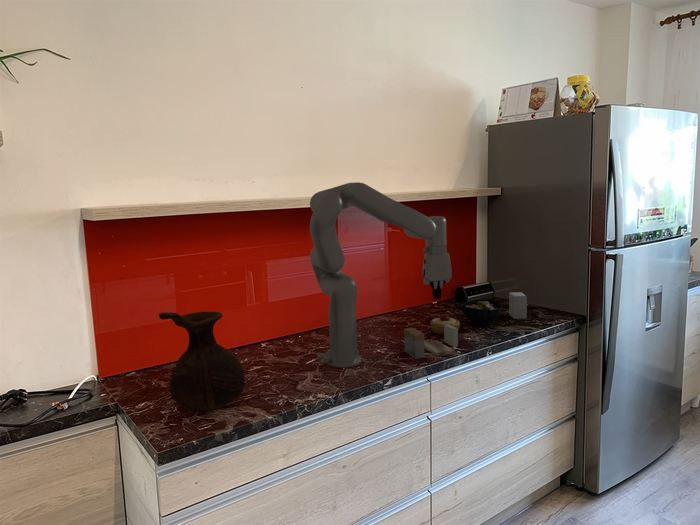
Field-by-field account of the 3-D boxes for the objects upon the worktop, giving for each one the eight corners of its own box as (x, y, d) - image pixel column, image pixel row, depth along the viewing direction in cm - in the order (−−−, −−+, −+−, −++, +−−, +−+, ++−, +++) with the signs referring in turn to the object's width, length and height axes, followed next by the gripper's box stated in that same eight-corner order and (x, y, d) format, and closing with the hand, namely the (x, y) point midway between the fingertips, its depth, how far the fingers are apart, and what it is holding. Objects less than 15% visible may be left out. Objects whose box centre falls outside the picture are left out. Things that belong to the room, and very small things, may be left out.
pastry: (424, 333, 220) (423, 312, 219) (444, 327, 227) (443, 307, 226) (446, 338, 210) (445, 316, 209) (466, 332, 217) (465, 311, 216)
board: (436, 355, 190) (436, 352, 190) (420, 345, 202) (420, 342, 202) (454, 353, 192) (454, 350, 192) (436, 343, 204) (436, 340, 204)
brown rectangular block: (415, 359, 187) (414, 335, 186) (404, 351, 196) (403, 328, 195) (424, 357, 189) (424, 334, 187) (413, 350, 197) (413, 327, 196)
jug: (173, 393, 163) (165, 299, 159) (244, 385, 168) (238, 293, 164) (165, 424, 142) (156, 316, 138) (247, 414, 147) (240, 309, 143)
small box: (526, 318, 235) (527, 295, 233) (513, 319, 235) (514, 296, 233) (521, 314, 242) (521, 291, 241) (508, 314, 243) (509, 292, 241)
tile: (453, 347, 199) (453, 329, 198) (444, 341, 206) (444, 324, 205) (458, 346, 200) (458, 328, 199) (449, 341, 206) (448, 323, 205)
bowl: (453, 324, 230) (453, 302, 228) (476, 316, 241) (476, 295, 239) (487, 331, 217) (487, 308, 215) (509, 323, 228) (509, 300, 227)
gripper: (422, 252, 189) (423, 302, 192) (459, 249, 194) (459, 298, 197) (413, 250, 196) (414, 298, 199) (448, 247, 201) (449, 294, 204)
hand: (437, 298), depth 198 cm, fingers closed
